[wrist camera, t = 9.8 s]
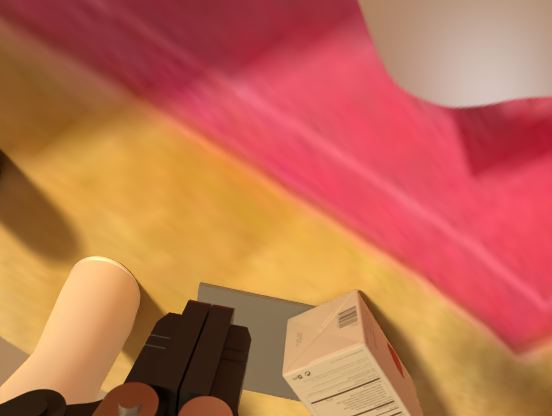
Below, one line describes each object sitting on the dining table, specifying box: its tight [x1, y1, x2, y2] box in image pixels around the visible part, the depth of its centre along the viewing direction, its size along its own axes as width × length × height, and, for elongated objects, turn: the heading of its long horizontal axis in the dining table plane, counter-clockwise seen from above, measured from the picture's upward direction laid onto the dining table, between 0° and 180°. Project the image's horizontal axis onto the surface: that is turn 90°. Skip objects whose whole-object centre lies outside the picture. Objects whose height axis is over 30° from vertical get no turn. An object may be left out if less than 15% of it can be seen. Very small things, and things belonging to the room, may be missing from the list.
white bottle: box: [0, 256, 141, 405], centre depth 39 cm, size 12×11×25 cm
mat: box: [197, 283, 317, 401], centre depth 50 cm, size 20×14×1 cm
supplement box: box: [282, 289, 423, 416], centre depth 45 cm, size 9×9×15 cm
